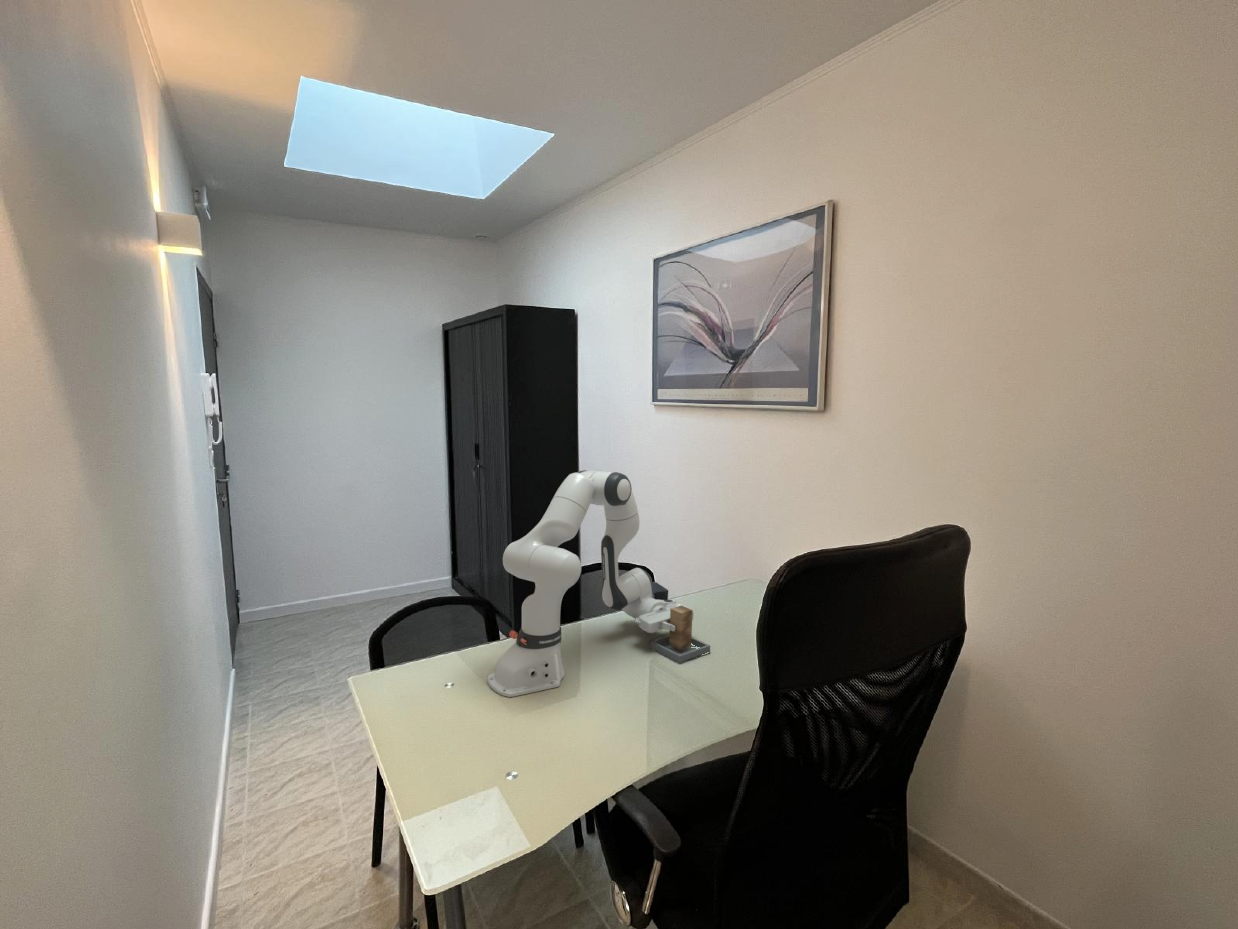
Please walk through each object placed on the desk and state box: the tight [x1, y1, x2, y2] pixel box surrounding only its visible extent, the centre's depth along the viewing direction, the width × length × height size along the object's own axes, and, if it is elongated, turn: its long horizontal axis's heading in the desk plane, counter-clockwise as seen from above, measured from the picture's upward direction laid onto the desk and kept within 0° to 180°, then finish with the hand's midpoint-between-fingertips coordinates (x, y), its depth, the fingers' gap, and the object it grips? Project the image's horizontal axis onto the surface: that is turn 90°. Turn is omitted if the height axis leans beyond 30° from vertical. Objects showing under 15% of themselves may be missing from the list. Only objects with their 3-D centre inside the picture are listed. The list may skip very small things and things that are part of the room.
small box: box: [652, 581, 669, 600], centre depth 225 cm, size 11×6×10 cm, turn 25°
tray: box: [650, 634, 711, 665], centre depth 193 cm, size 14×14×2 cm
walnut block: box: [669, 604, 694, 649], centre depth 192 cm, size 5×5×12 cm
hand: (682, 626), depth 192 cm, fingers closed on walnut block, 5 cm apart
